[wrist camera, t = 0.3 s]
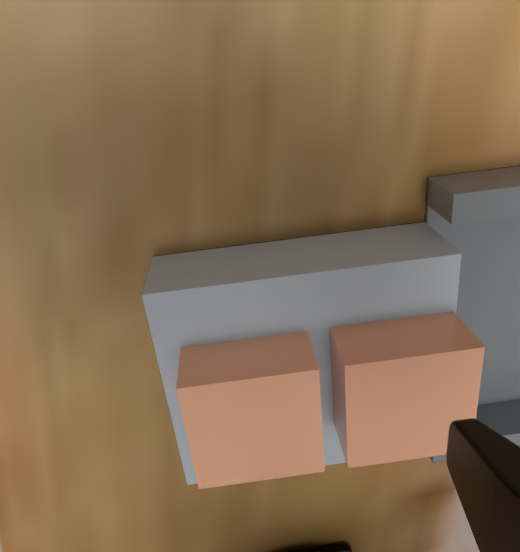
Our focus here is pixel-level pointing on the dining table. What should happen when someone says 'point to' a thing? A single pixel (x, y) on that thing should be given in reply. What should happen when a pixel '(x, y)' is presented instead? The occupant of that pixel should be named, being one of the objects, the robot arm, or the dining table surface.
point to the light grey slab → (294, 298)
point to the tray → (486, 280)
